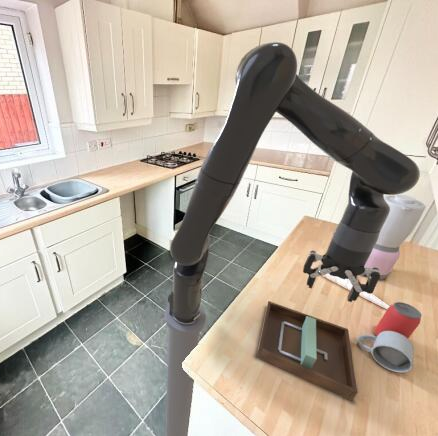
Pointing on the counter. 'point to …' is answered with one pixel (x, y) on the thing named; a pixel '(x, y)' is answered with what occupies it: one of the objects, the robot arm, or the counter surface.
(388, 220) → the blender
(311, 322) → the hanger
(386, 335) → the ceramic mug
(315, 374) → the tray
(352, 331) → the counter surface
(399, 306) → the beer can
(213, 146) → the robot arm
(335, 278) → the unicorn horn
